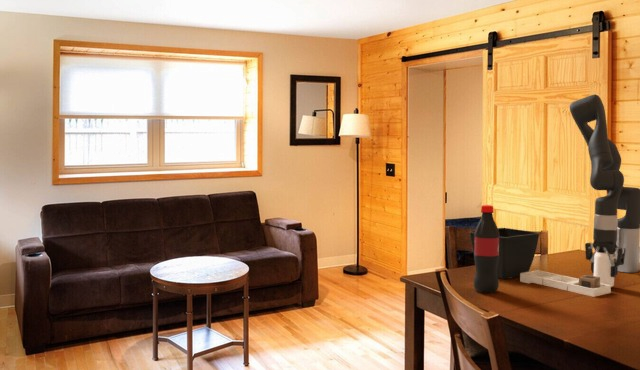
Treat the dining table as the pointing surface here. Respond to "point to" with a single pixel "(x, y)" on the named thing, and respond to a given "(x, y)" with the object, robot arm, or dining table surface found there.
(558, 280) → the dish
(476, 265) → the cola bottle
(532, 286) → the dining table surface
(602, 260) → the can
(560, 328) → the dining table surface
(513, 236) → the flower pot
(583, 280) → the letter cube
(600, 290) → the dish
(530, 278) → the dish
